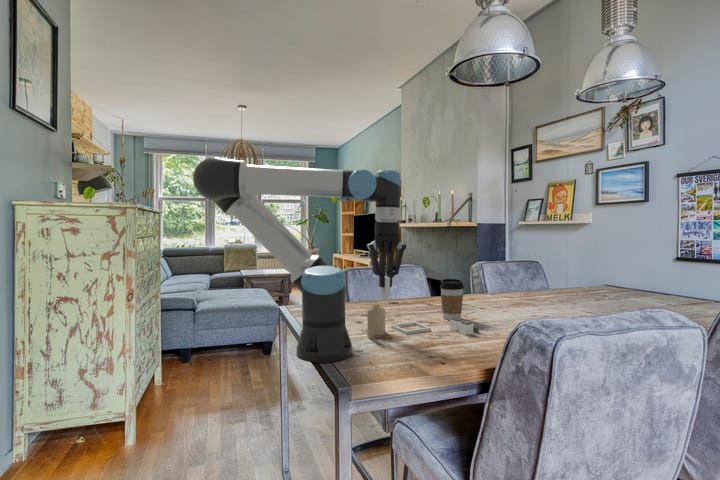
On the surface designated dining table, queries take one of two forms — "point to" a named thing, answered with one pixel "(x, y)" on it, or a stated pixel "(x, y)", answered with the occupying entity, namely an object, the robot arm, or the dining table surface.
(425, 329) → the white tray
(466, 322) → the knob
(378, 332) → the beige bottle
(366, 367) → the dining table surface
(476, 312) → the dining table surface
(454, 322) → the knob
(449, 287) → the coffee cup
